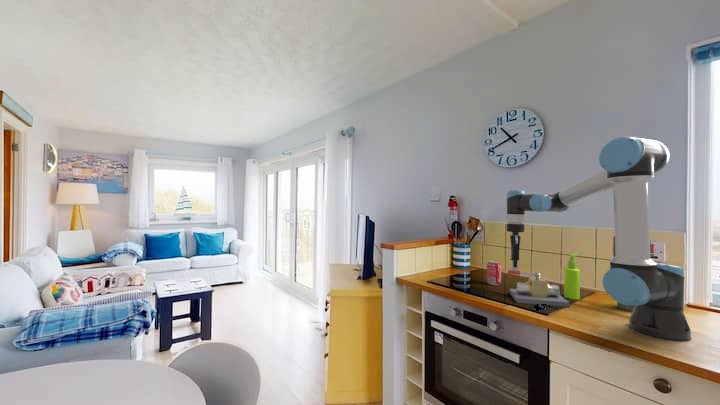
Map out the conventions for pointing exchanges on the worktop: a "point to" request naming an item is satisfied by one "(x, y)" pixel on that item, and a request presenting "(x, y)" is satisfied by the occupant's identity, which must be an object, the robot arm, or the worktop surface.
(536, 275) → the lever
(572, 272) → the soap dispenser
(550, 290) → the valve body
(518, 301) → the plinth
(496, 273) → the soda can
